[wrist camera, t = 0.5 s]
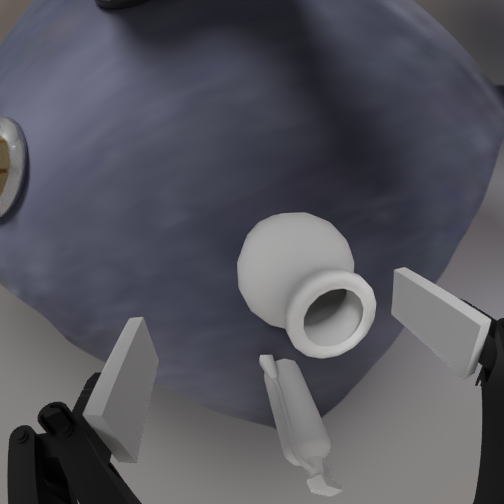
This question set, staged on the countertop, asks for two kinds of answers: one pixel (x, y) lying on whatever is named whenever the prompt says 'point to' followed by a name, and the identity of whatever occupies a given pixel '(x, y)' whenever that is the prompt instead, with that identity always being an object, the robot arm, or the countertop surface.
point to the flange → (13, 164)
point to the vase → (306, 283)
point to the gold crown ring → (3, 163)
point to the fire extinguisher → (299, 423)
